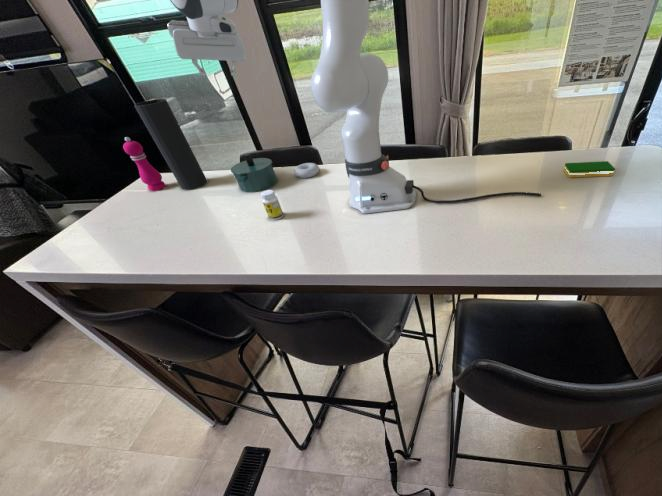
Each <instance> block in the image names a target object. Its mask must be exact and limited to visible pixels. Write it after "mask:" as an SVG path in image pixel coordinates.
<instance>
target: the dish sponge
mask: <svg viewBox="0 0 662 496" xmlns="http://www.w3.org/2000/svg"><path fill="white" fill-rule="evenodd" d="M564 166H565V167H566V169H567V170H568V171H569V173H589V172H597V171H599V172H600V171H614V173H615V171H616V167H614V166H613V165H612V164H611V162H609V161H607V160H605V161H604V160H603V161H583V162H565V163H564ZM566 169H565V168H564V167H563V171H564V173H565V174H566V175H567V177H568V178H591V177H594V178H595V177H613V176H614V173H609V174H585V175H569V174H568V172H567V171H566Z"/></svg>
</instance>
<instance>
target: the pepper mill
mask: <svg viewBox="0 0 662 496" xmlns="http://www.w3.org/2000/svg"><path fill="white" fill-rule="evenodd" d="M124 141H125V142H124V143H123V145H122V148H123V150H124V152H125V153H126V155H129V158H130V159H131V161H133V162H134V164H136V166H137V169H138V173H139V177H140V180H141V182H142V183H143V184H145V185H147V189H148V190H149V191H150V192H157V191H160V190H163V189H165V188H166V187H167V185H166V183H165V181H163V180H162V179H163V176H162V174H161V173H160V172H159V171H158V170H157V169H156V168H155V167H153V165H152V164H151V163H150V162H149V161H148V159H147V155H146V154H145V152H144V147H143V146H142V144H141V143H140V142H138V141H135V140H131V138H130V137H129V136H125V137H124Z"/></svg>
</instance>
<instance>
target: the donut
mask: <svg viewBox="0 0 662 496" xmlns="http://www.w3.org/2000/svg"><path fill="white" fill-rule="evenodd" d="M293 171H294V174H295V176H296V177H297V178H300V179H308V178H312V177H315V176H317V175H318V174H319V172H320V167H319V165H318V164H317V163H315V162H305V163H301V164H299V165H296V166H295V168H294V170H293Z"/></svg>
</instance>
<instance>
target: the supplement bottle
mask: <svg viewBox="0 0 662 496" xmlns="http://www.w3.org/2000/svg"><path fill="white" fill-rule="evenodd" d="M260 197H261V198H262V201H261V202H262V204H263V207H264V209H265V211H266V214H267V217H268V219H269V220H272V221H276V220H277V221H278V220H280V219H282V218H283V217H284V211H283V209H282V206H281V203H280V201H279V198H278V197H277V196H276V193H275V191H274V190H273V189H265V190H262V191H261V193H260Z"/></svg>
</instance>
